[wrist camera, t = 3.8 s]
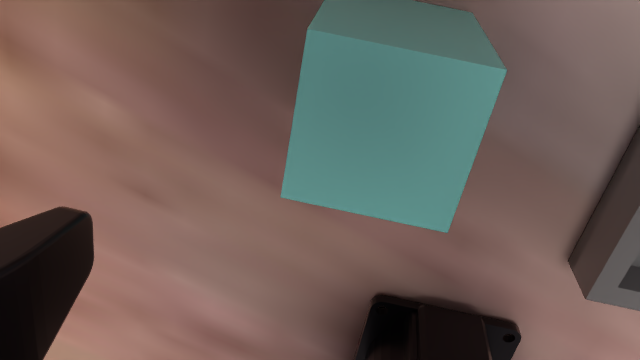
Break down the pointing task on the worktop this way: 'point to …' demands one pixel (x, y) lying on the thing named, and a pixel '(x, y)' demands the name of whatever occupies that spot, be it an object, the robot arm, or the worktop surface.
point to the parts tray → (613, 239)
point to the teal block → (390, 109)
